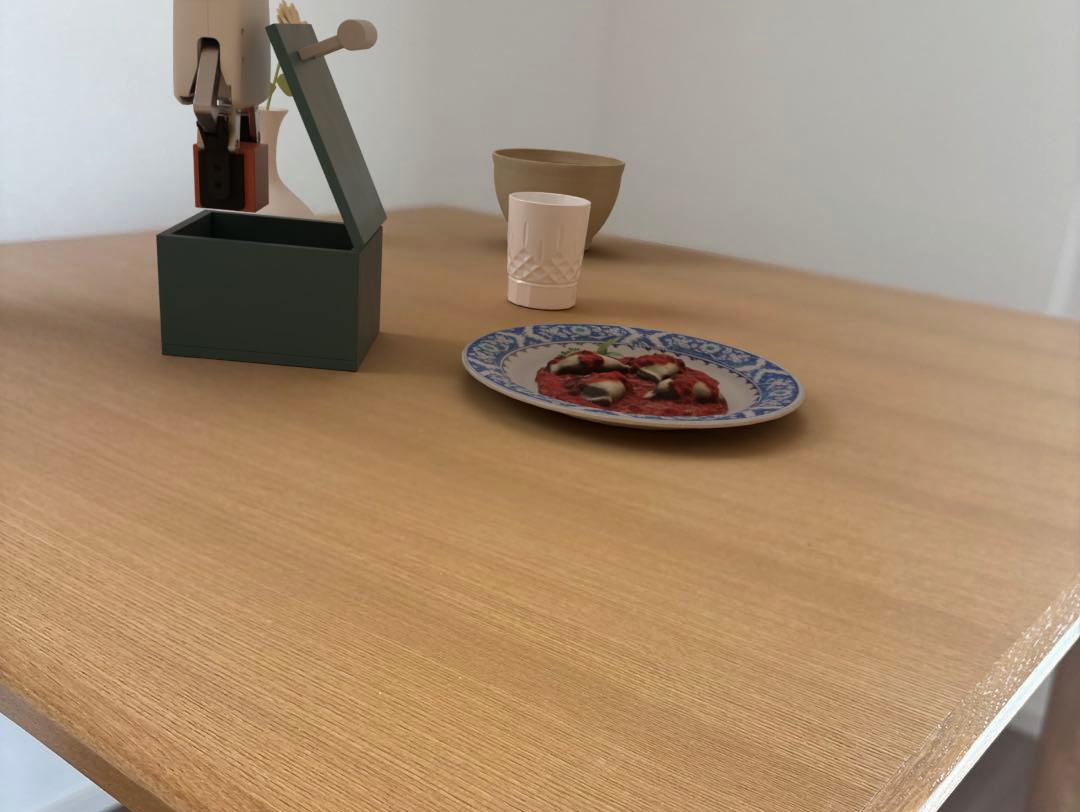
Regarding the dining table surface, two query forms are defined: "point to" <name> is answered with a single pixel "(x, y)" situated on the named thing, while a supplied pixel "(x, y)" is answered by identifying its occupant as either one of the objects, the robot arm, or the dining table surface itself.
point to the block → (246, 176)
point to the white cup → (545, 248)
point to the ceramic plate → (633, 376)
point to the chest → (268, 290)
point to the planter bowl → (560, 179)
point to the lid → (331, 117)
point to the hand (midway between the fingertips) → (231, 201)
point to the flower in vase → (270, 121)
